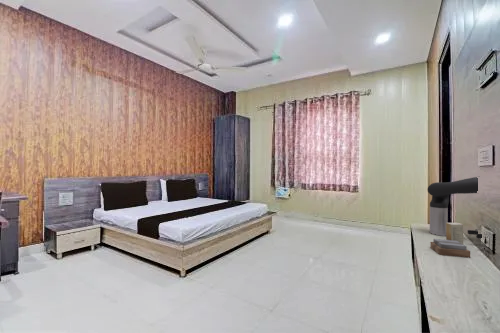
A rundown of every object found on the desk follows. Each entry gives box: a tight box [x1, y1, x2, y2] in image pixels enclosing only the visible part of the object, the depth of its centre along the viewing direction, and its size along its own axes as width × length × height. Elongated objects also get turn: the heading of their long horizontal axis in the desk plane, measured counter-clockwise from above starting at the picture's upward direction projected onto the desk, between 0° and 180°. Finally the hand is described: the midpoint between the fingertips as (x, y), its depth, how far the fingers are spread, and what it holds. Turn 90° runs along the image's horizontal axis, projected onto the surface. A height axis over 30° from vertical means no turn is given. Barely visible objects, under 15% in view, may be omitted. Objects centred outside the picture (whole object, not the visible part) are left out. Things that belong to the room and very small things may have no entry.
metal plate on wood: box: [429, 238, 471, 259], centre depth 124 cm, size 12×12×5 cm
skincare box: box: [445, 222, 465, 245], centre depth 135 cm, size 6×4×12 cm
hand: (472, 234), depth 133 cm, fingers open, 8 cm apart
